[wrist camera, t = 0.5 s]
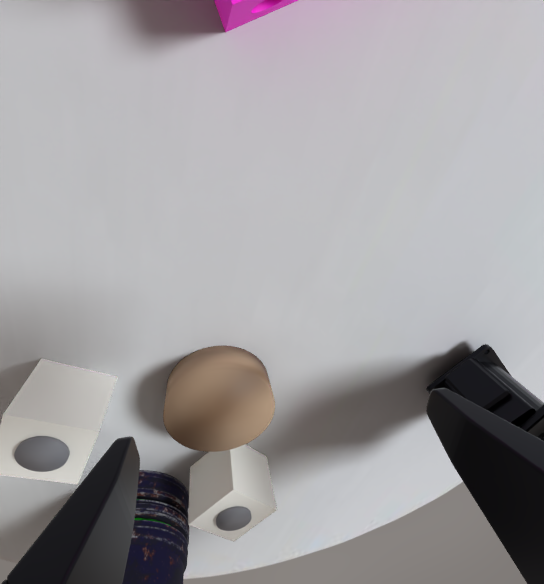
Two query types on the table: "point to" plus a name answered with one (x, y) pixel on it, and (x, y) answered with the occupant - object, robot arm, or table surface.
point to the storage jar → (158, 531)
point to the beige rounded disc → (218, 399)
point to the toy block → (246, 10)
